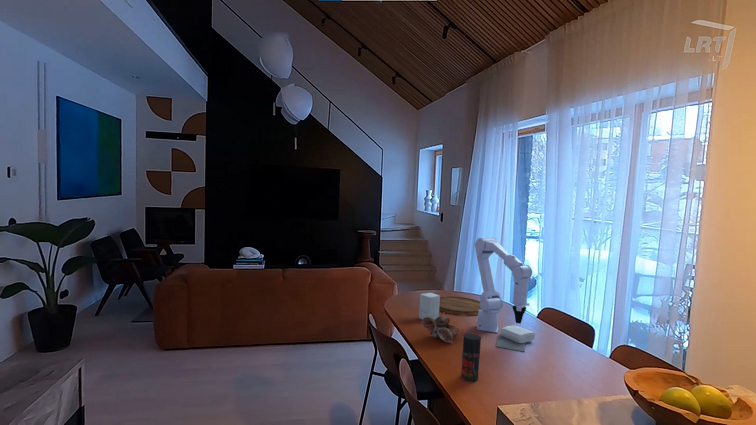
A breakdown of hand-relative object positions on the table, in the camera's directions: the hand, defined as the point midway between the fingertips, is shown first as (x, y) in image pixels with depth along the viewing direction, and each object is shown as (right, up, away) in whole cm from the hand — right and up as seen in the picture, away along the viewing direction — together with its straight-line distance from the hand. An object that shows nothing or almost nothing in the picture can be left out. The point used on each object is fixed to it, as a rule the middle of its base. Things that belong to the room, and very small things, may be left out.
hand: (518, 322), depth 182 cm
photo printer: (+4, -7, -1) cm, 8 cm away
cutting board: (-16, -5, +51) cm, 54 cm away
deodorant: (-30, -10, -36) cm, 48 cm away
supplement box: (-36, -6, +27) cm, 46 cm away
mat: (-3, -9, 0) cm, 9 cm away
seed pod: (-34, -8, 0) cm, 34 cm away
